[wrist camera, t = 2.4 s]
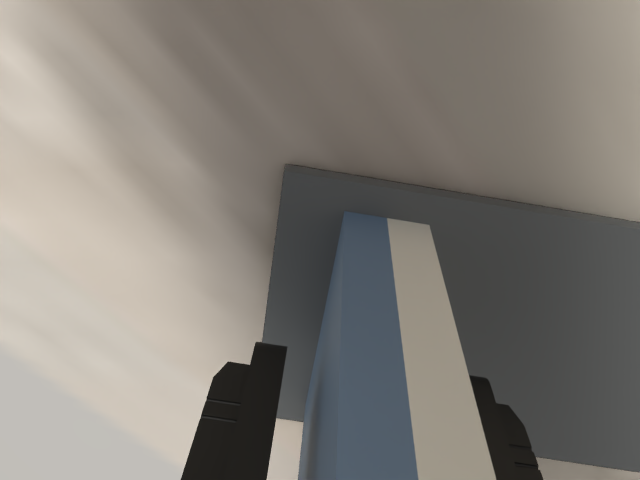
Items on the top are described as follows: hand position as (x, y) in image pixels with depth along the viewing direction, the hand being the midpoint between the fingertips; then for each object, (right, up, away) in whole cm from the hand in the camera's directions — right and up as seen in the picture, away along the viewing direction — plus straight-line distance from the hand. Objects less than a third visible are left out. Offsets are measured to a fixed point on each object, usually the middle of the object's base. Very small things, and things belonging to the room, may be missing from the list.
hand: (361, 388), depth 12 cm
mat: (+4, +1, +2) cm, 4 cm away
